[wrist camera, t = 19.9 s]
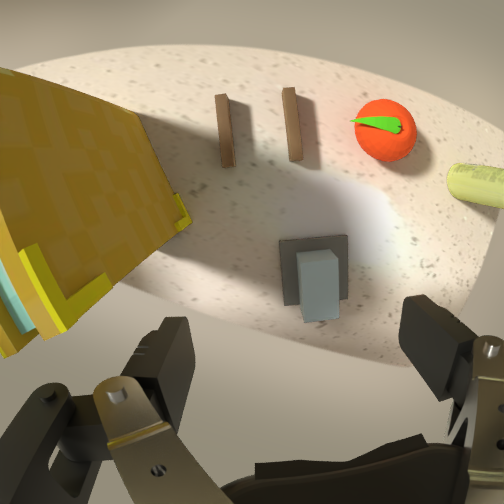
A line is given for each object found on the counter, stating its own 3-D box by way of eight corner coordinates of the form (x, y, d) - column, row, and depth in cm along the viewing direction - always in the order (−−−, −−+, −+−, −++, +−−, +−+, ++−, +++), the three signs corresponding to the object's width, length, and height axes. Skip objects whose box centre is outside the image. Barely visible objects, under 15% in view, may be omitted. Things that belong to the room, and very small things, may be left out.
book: (192, 222, 34) (67, 330, 10) (146, 245, 35) (4, 358, 11) (135, 99, 30) (-24, 34, 6) (92, 128, 31) (-75, 111, 7)
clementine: (336, 156, 32) (355, 153, 25) (339, 99, 30) (357, 83, 23) (398, 166, 32) (427, 167, 25) (400, 111, 30) (429, 101, 23)
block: (300, 307, 36) (304, 322, 32) (296, 252, 34) (300, 263, 30) (331, 303, 36) (339, 318, 32) (329, 248, 34) (338, 258, 30)
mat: (284, 303, 37) (284, 305, 36) (279, 241, 35) (279, 242, 34) (346, 296, 36) (347, 298, 36) (346, 234, 34) (347, 236, 34)
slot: (225, 167, 33) (222, 167, 30) (217, 100, 30) (214, 95, 28) (300, 160, 32) (303, 159, 30) (292, 92, 30) (294, 87, 28)
